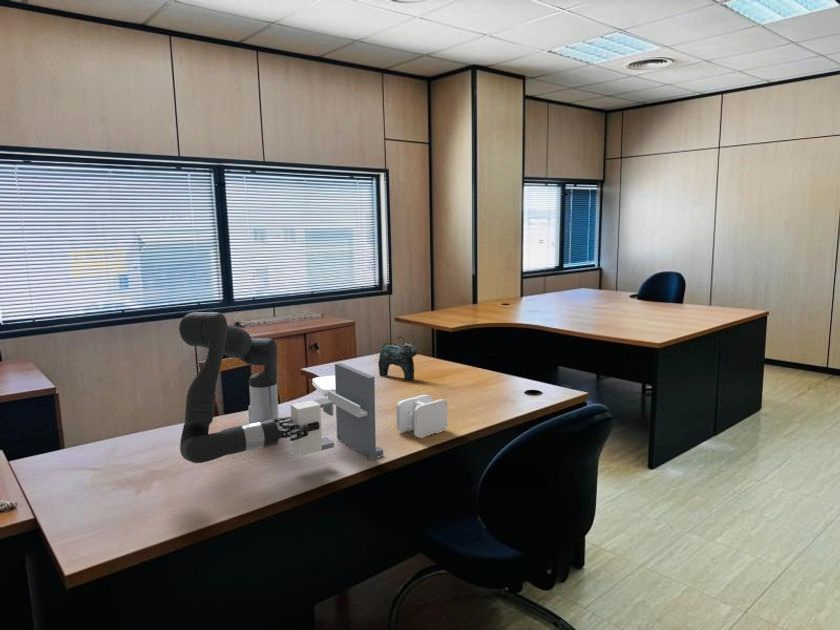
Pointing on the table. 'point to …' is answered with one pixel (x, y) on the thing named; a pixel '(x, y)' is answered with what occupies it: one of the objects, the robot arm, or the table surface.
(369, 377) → the wall board
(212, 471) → the table surface
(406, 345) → the ceramic cat
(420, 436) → the cable organizer
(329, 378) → the mac mini
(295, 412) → the white block
